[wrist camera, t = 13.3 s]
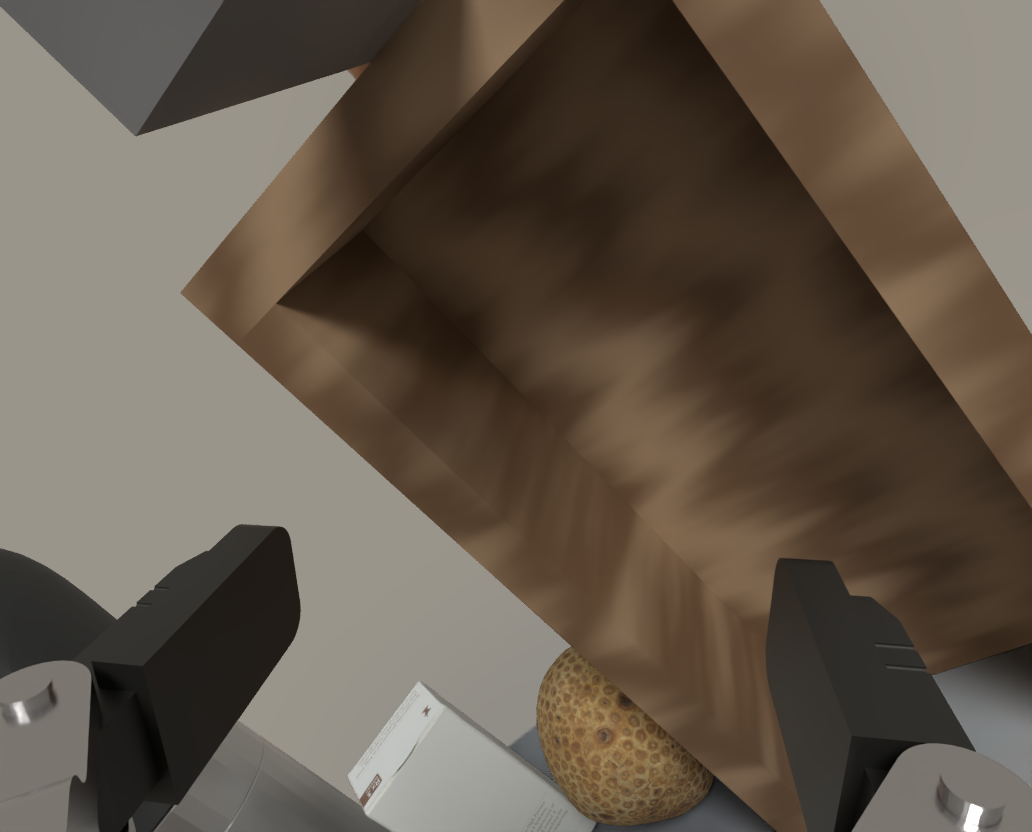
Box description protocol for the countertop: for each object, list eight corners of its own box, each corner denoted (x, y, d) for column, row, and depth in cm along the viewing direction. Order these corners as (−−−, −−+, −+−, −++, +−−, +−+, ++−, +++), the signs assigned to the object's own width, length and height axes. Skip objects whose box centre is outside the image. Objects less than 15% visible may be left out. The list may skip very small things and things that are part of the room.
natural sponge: (599, 871, 35) (464, 767, 33) (636, 709, 42) (526, 610, 39) (757, 883, 30) (609, 756, 27) (773, 692, 36) (654, 573, 33)
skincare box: (563, 788, 41) (418, 671, 38) (604, 825, 37) (446, 698, 34) (500, 886, 39) (341, 772, 36) (536, 936, 35) (361, 814, 32)
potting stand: (811, 862, 29) (180, 292, 19) (782, 686, 36) (310, 206, 26) (1301, 759, 21) (646, -271, 12) (1142, 561, 28) (654, -181, 19)
